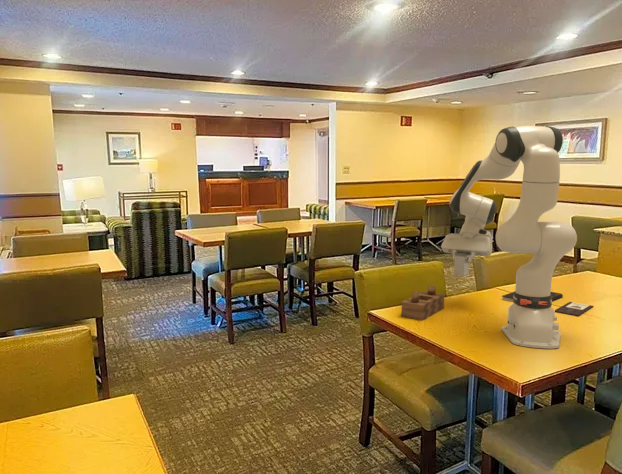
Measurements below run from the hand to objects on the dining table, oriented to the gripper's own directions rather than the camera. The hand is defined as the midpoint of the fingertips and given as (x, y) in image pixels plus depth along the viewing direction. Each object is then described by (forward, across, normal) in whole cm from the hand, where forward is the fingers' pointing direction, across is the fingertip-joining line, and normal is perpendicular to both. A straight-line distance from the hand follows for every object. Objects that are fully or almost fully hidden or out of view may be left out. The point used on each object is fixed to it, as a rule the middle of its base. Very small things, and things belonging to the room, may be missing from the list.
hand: (461, 261), depth 192 cm
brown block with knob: (+24, -10, +4) cm, 26 cm away
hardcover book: (-9, +20, +38) cm, 44 cm away
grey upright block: (+4, 0, +4) cm, 6 cm away
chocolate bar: (-4, +37, +33) cm, 50 cm away
